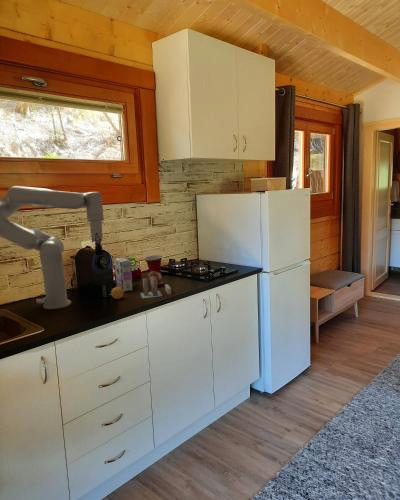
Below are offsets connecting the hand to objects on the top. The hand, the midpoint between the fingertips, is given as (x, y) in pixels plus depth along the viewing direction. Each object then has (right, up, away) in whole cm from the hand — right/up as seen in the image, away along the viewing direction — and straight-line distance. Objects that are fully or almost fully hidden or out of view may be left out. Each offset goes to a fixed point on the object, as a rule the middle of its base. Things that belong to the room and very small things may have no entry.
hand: (99, 253), depth 184 cm
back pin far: (+25, -21, +12) cm, 35 cm away
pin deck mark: (+24, -21, +9) cm, 33 cm away
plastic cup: (+21, -14, +52) cm, 58 cm away
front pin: (+21, -21, +9) cm, 31 cm away
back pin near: (+26, -21, +7) cm, 35 cm away
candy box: (+7, -20, +24) cm, 32 cm away
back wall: (+32, -20, +13) cm, 40 cm away
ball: (+8, -20, +5) cm, 22 cm away
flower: (+24, -18, +27) cm, 41 cm away
